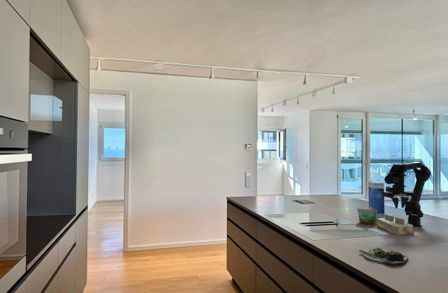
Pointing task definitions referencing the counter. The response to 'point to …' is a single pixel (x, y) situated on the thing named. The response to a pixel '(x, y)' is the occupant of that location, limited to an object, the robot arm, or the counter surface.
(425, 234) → the counter surface
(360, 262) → the counter surface
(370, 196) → the string lights box
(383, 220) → the cover
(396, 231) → the box
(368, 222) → the food container
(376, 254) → the salad plate
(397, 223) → the lid
